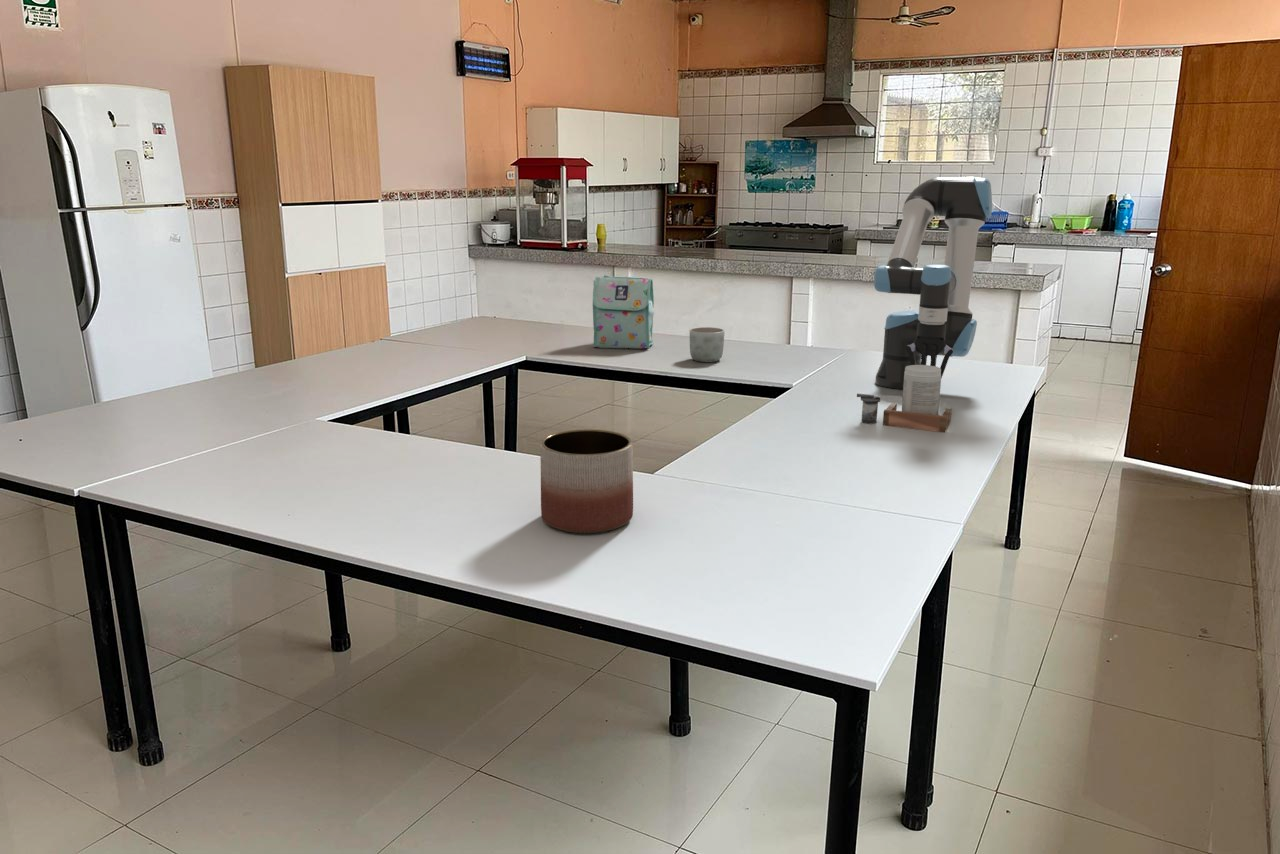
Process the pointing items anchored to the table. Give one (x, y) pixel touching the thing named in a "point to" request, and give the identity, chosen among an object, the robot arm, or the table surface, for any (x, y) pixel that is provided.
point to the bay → (916, 419)
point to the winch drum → (869, 408)
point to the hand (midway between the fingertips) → (924, 405)
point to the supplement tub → (921, 389)
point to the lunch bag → (623, 312)
